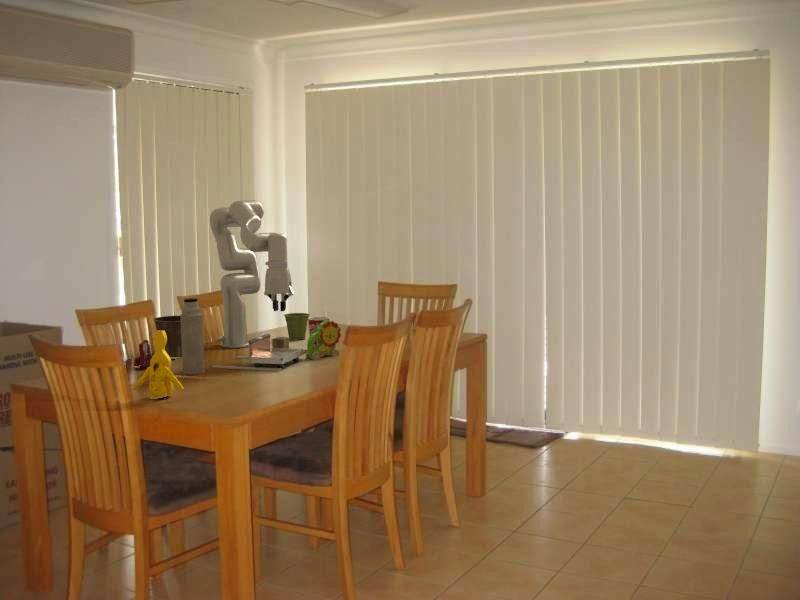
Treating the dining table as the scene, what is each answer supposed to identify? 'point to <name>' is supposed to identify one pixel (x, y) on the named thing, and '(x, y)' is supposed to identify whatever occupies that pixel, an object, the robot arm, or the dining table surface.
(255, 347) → the grey l-shaped piece
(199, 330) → the thermos bottle
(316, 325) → the mug
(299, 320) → the plant pot
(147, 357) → the toy fire truck
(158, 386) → the figure statuette
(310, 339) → the toy lion
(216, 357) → the dining table surface
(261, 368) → the grey flat rectangular piece
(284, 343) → the walnut block
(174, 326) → the plant pot
